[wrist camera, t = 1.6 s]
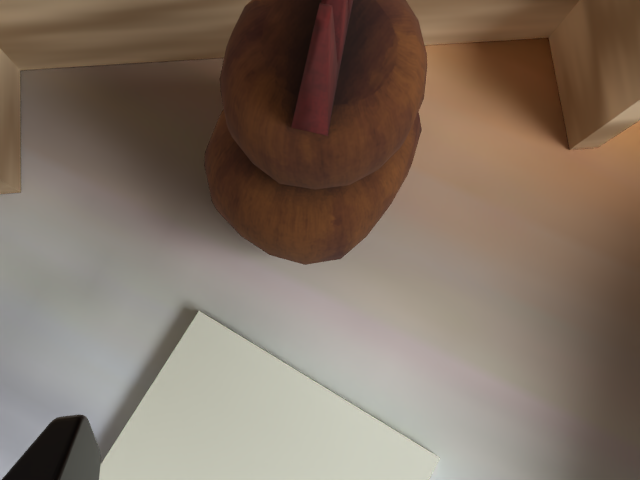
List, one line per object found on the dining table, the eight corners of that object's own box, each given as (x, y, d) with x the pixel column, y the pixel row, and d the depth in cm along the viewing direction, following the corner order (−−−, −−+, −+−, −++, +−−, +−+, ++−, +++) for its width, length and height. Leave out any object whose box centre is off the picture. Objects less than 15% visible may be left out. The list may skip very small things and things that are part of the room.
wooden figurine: (321, 306, 22) (401, 207, 7) (195, 222, 22) (21, -39, 7) (415, 164, 23) (644, -167, 8) (294, 86, 23) (313, -362, 9)
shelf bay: (597, 147, 24) (783, 25, 15) (-13, 195, 22) (-214, 86, 13) (570, 10, 25) (728, -179, 16) (-12, 44, 23) (-195, -150, 14)
